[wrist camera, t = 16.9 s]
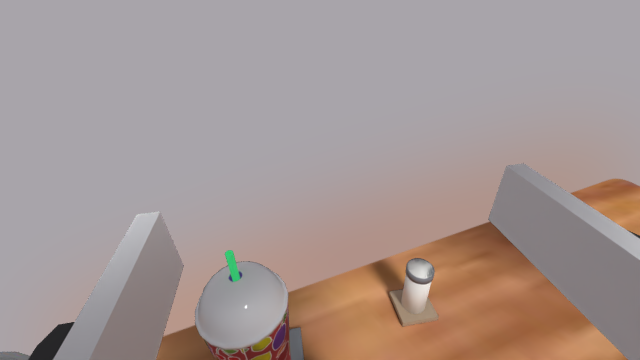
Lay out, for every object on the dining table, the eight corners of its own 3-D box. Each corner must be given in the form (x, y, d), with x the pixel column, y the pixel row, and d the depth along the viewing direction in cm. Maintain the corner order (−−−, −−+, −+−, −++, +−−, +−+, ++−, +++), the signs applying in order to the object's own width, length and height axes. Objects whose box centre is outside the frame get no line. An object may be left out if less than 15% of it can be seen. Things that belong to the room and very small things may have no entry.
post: (420, 289, 44) (429, 251, 40) (437, 320, 40) (449, 281, 36) (389, 294, 44) (394, 256, 39) (402, 326, 39) (410, 287, 35)
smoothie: (223, 354, 37) (175, 234, 26) (287, 330, 39) (268, 210, 28) (230, 433, 30) (170, 315, 19) (308, 398, 32) (293, 275, 22)
